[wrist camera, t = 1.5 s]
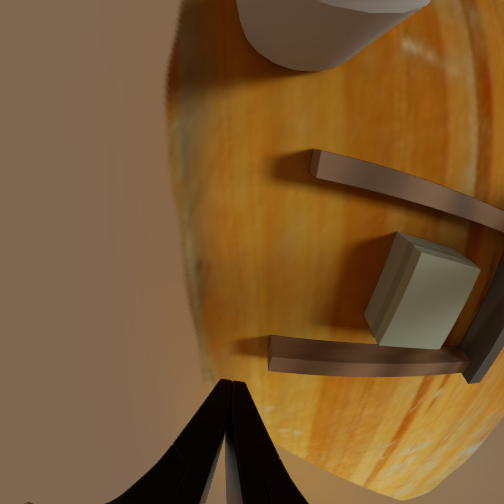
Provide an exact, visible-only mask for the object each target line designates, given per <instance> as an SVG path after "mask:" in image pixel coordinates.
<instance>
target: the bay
mask: <svg viewBox="0 0 504 504" xmlns="http://www.w3.org/2000/svg"><path fill="white" fill-rule="evenodd" d="M309 173H311V174H312V175H313V176H314V177H316V178H320V179H324V180H329V181H333V182H338V183H342V184H347V185H351V186H355V187H359V188H363V189H367V190H371V191H375V192H379V193H383V194H387V195H390V196H394V197H398V198H401V199H405V200H408V201H412V202H415V203H419V204H422V205H425V206H429V207H432V208H435V209H438V210H442V211H445V212H448V213H451V214H454V215H457V216H460V217H463V218H466V219H469V220H471V221H474V222H477V223H480V224H483V225H485V226H488V227H491V228H493V229H496V230H499V231H501V232H504V211H502V210H500V209H498V208H496V207H493V206H491V205H489V204H487V203H484V202H482V201H480V200H477V199H475V198H473V197H470V196H468V195H465V194H463V193H460V192H458V191H455V190H452V189H450V188H447V187H444V186H442V185H439V184H436V183H433V182H430V181H428V180H425V179H422V178H419V177H416V176H413V175H410V174H407V173H404V172H400V171H397V170H394V169H391V168H387V167H384V166H380V165H377V164H373V163H370V162H366V161H363V160H359V159H355V158H351V157H347V156H343V155H339V154H335V153H331V152H326V151H322V150H318V149H313V152H312V157H311V162H310V167H309ZM503 346H504V253H503V256H502V259H501V262H500V264H499V267H498V269H497V272H496V274H495V277H494V279H493V281H492V284H491V286H490V288H489V291H488V293H487V295H486V297H485V299H484V301H483V304H482V306H481V308H480V310H479V312H478V314H477V316H476V318H475V320H474V322H473V323H472V325H471V327H470V329H469V331H468V333H467V335H466V336H465V338H464V340H463V342H462V343H461V345H460V346H441V347H440V349H422V348H406V347H393V346H381V345H376V344H358V343H344V342H331V341H320V340H310V339H300V338H291V337H282V336H274V335H271V338H270V342H269V345H268V371H275V372H285V373H296V374H309V375H326V376H351V377H400V376H424V375H440V374H452V373H462V375H463V376H464V378H465V379H466V381H467V383H468V384H471V383H478V382H480V381H481V380H482V378H483V377H484V376H485V374H486V373H487V371H488V370H489V368H490V367H491V365H492V364H493V362H494V361H495V359H496V358H497V356H498V355H499V353H500V351H501V350H502V348H503Z"/></svg>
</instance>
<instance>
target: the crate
mask: <svg viewBox="0 0 504 504" xmlns="http://www.w3.org/2000/svg"><path fill="white" fill-rule="evenodd" d="M480 271H481V269H480V268H479V267H477V266H476V265H475V264H474V263H473V262H472V261H471V260H470V259H468V258H466V257H464V256H463V255H462V254H461V253H459V252H458V251H457V250H455V249H453V248H450V247H447V246H444V245H441V244H437V243H434V242H431V241H427V240H424V239H421V238H417V237H414V236H411V235H407V234H404V233H400V232H396V235H395V238H394V241H393V244H392V247H391V249H390V252H389V255H388V257H387V260H386V263H385V265H384V268H383V270H382V273H381V275H380V278H379V280H378V283H377V285H376V287H375V290H374V292H373V295H372V297H371V299H370V302H369V304H368V306H367V308H366V311H365V313H364V316H365V318H366V320H367V322H368V324H369V326H370V328H371V330H370V331H371V333H372V335H373V337H375V339H376V341H377V343H378V345H381V346H393V347H406V348H422V349H440V347H441V346H442V344H443V343H444V341H445V339H446V337H447V336H448V334H449V332H450V331H451V329H452V327H453V325H454V324H455V322H456V320H457V318H458V316H459V314H460V312H461V311H462V309H463V307H464V305H465V303H466V301H467V299H468V297H469V295H470V293H471V291H472V288H473V286H474V284H475V282H476V280H477V278H478V275H479V273H480Z"/></svg>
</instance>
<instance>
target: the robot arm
mask: <svg viewBox="0 0 504 504" xmlns="http://www.w3.org/2000/svg"><path fill="white" fill-rule="evenodd" d="M224 436H225V468H226V496H227V497H226V498H227V504H309V503H308V502H307V501H306V499H305V498H304V497H303V495H302V494H301V493H300V491H299V490H298V488H297V487H296V485H295V484H294V482H293V481H292V479H291V478H290V476H289V474H288V472H287V471H286V469H285V467H284V465H283V463H282V461H281V459H279V455H278V453H277V451H276V449H275V447H274V445H273V443H272V440H271V438H270V436H269V434H268V432H267V430H266V428H265V426H264V423H263V421H262V419H261V417H260V415H259V413H258V410H257V408H256V406H255V404H254V401H253V399H252V397H251V395H250V392H249V390H248V388H247V386H246V384H245V382H241V381H233V383H232V380H227V379H220V380H219V382H218V383H217V384H216V386H215V387H214V389H213V390H212V391H211V393H210V394H209V396H208V397H207V398H206V400H205V401H204V403H203V404H202V405H201V407H200V408H199V410H198V411H197V412H196V413H195V415H194V416H193V417H192V419H191V420H190V421H189V423H188V424H187V425H186V427H185V428H184V429H183V431H182V432H181V433H180V435H179V436H178V437H177V439H176V440H175V441H174V443H173V445H171V446H170V448H169V449H168V450H167V451H166V453H165V454H164V455H163V456H162V457H161V459H160V460H159V461H158V462H157V463H156V464H155V465H154V466H153V467H152V468H151V469H150V470H149V471H148V472H147V473H146V474H145V475H144V476H143V477H141V478H140V479H139V480H138V481H137V482H136V483H135V484H133V485H132V486H131V487H130V488H129V489H128V490H126V491H125V492H124V493H123V494H122V495H120V496H119V497H117V498H116V499H114V500H112V501H110V502H108V503H106V504H205V503H206V500H207V496H208V493H209V489H210V486H211V482H212V479H213V476H214V472H215V469H216V465H217V462H218V458H219V455H220V451H221V447H222V444H223V440H224ZM25 504H32V503H30V502H27V503H25Z"/></svg>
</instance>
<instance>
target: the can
mask: <svg viewBox="0 0 504 504" xmlns="http://www.w3.org/2000/svg"><path fill="white" fill-rule="evenodd" d="M430 1H431V0H236V3H237V8H238V13H239V19H240V24H241V26H242V29H243V31H244V34H245V37H246V39H247V40H248V41H249V43H250V44H251V45H252V46H253V47H254V48H255V50H256V51H257V52H258V53H259V54H261V55H262V56H264V57H266V58H267V59H269V60H270V61H272V62H273V63H275V64H278V65H281V66H284V67H287V68H290V69H292V70H299V71H311V72H316V71H321V70H327V69H332V68H335V67H336V66H338V65H340V64H342V63H344V62H346V61H348V60H349V59H351V58H352V57H353V56H354V55H356V54H357V53H358V52H360V51H361V50H362V49H364V48H365V47H366V46H368V45H369V44H370V43H372V42H373V41H375V40H376V39H377V38H379V37H380V36H381V35H383V34H384V33H386V32H387V31H388V30H390V29H391V28H393V27H394V26H396V25H397V24H399V23H400V22H402V21H403V20H405V19H406V18H408V17H409V16H411V15H412V14H414V13H415V12H417V11H418V10H420V9H421V8H423V7H424V6H426V5H427V4H428V3H429V2H430Z"/></svg>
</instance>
